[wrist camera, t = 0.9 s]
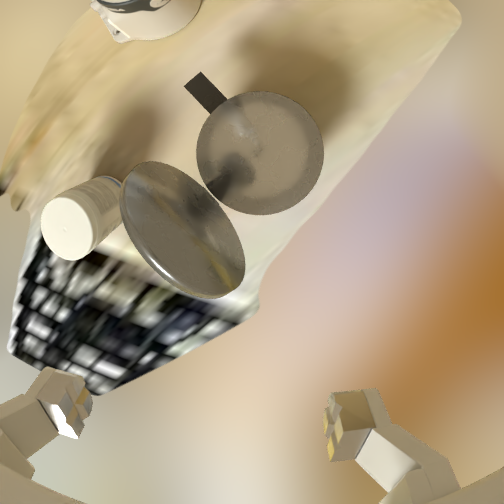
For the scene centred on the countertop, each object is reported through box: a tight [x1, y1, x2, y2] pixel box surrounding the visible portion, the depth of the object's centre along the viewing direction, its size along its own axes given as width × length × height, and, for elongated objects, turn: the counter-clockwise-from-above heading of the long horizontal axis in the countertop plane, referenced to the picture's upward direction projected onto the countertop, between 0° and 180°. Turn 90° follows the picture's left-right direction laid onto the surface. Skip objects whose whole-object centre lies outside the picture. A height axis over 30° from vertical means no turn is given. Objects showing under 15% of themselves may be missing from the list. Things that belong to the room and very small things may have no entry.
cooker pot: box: [184, 72, 324, 215], centre depth 39 cm, size 21×16×11 cm
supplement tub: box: [41, 176, 123, 260], centre depth 41 cm, size 10×10×15 cm
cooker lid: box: [119, 161, 245, 299], centre depth 31 cm, size 16×16×3 cm
